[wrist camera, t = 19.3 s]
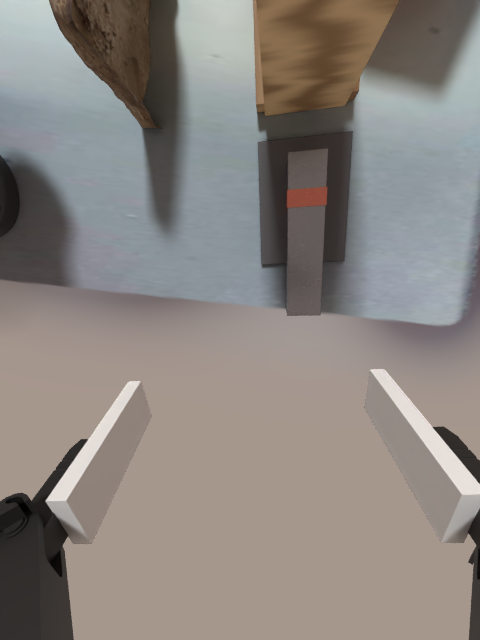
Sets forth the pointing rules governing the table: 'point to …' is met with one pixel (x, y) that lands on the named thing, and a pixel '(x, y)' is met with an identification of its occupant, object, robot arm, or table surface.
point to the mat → (275, 193)
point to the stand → (314, 50)
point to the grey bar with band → (305, 230)
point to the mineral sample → (112, 45)
